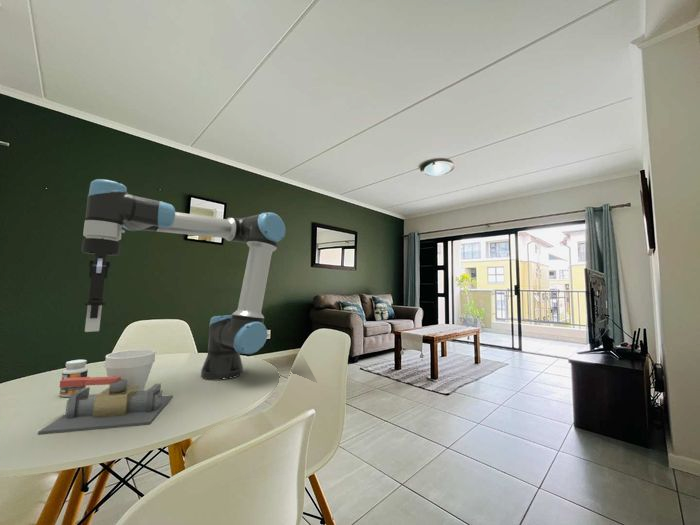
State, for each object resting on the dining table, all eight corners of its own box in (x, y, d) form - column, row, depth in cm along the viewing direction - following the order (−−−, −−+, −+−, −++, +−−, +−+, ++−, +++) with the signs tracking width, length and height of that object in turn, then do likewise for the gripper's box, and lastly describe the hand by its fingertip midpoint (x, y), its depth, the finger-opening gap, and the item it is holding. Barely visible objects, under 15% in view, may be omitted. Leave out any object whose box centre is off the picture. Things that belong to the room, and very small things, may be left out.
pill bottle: (68, 398, 84) (73, 364, 85) (54, 396, 85) (58, 362, 86) (89, 391, 89) (93, 359, 90) (75, 390, 90) (79, 358, 91)
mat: (173, 397, 87) (173, 395, 87) (149, 424, 70) (150, 421, 70) (86, 403, 81) (86, 400, 81) (37, 434, 64) (38, 431, 64)
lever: (129, 387, 78) (130, 374, 79) (122, 391, 75) (123, 378, 75) (67, 389, 75) (69, 377, 75) (57, 394, 71) (58, 381, 72)
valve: (163, 402, 82) (165, 382, 82) (153, 412, 75) (155, 390, 76) (78, 408, 76) (81, 387, 77) (60, 420, 69) (63, 396, 70)
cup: (140, 406, 80) (144, 357, 82) (89, 409, 78) (95, 358, 79) (159, 391, 92) (162, 348, 94) (115, 393, 90) (120, 349, 91)
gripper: (122, 238, 71) (111, 333, 69) (119, 243, 81) (110, 327, 79) (81, 234, 66) (69, 336, 64) (84, 240, 76) (73, 328, 74)
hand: (92, 331), depth 72 cm, fingers closed
